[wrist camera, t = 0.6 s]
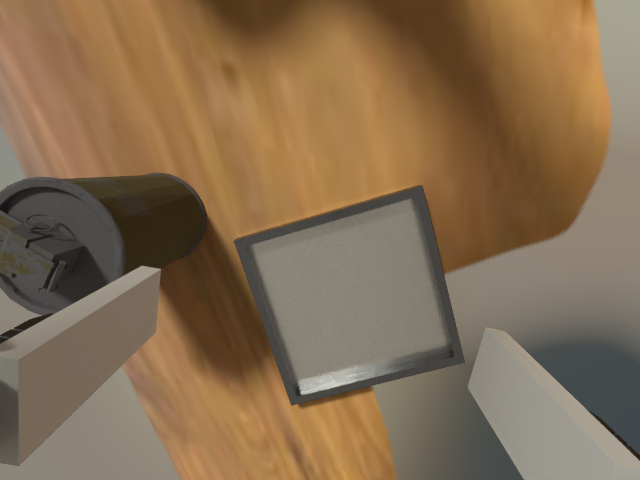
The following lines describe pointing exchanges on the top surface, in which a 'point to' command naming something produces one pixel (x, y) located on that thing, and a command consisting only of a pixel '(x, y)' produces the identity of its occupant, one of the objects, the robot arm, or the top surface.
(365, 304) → the shallow grey tray
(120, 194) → the canister
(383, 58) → the top surface
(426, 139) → the top surface
